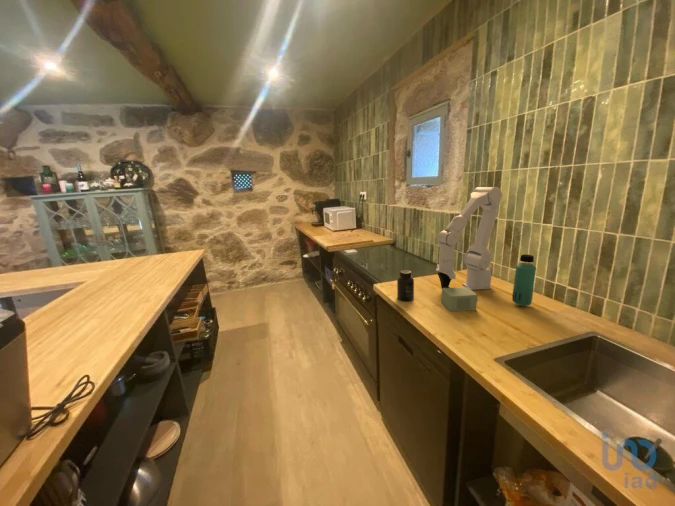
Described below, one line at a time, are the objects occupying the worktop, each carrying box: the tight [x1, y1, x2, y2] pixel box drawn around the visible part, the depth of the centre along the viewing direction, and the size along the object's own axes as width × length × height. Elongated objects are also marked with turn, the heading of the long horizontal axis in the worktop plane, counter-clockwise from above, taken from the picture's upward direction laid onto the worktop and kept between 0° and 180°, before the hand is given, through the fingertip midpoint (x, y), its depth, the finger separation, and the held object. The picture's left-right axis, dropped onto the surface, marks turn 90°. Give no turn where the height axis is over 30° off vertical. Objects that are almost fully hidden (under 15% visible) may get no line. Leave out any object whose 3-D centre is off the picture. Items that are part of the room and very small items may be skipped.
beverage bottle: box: [511, 254, 537, 306], centre depth 104 cm, size 6×7×20 cm
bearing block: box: [440, 286, 478, 312], centre depth 108 cm, size 10×8×6 cm
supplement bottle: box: [396, 269, 415, 302], centre depth 116 cm, size 7×7×12 cm
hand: (444, 289), depth 120 cm, fingers closed
